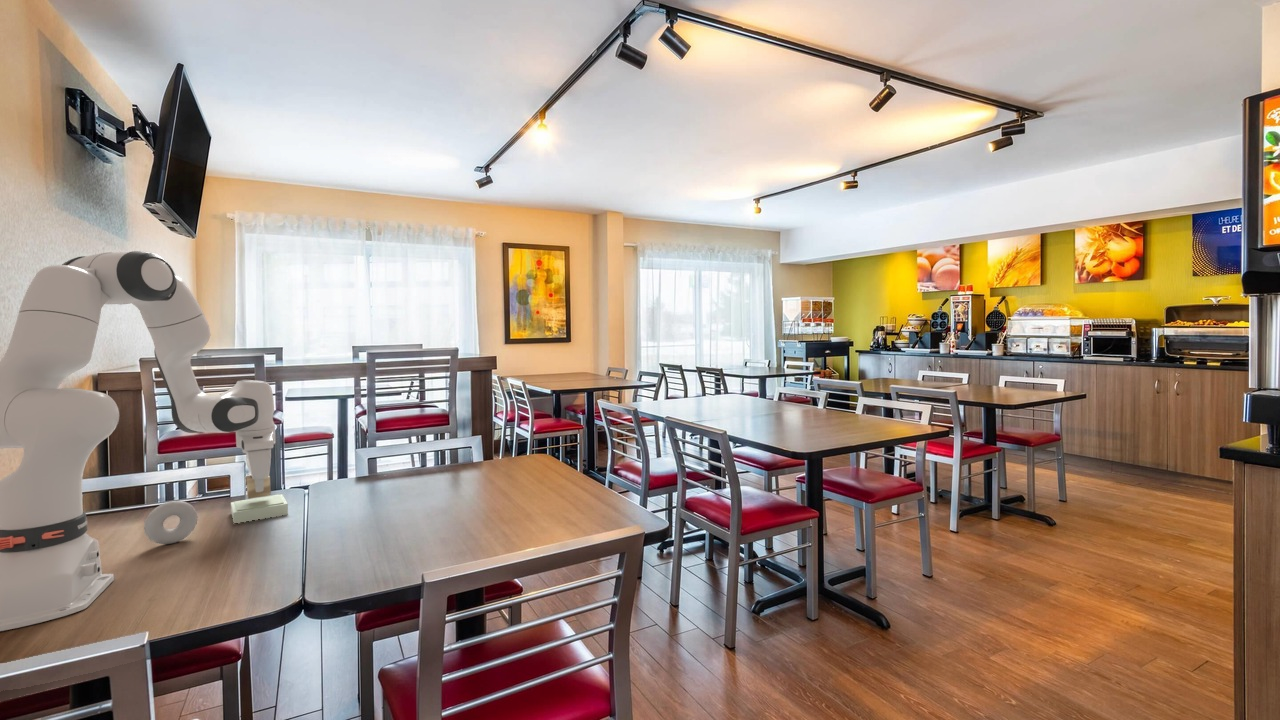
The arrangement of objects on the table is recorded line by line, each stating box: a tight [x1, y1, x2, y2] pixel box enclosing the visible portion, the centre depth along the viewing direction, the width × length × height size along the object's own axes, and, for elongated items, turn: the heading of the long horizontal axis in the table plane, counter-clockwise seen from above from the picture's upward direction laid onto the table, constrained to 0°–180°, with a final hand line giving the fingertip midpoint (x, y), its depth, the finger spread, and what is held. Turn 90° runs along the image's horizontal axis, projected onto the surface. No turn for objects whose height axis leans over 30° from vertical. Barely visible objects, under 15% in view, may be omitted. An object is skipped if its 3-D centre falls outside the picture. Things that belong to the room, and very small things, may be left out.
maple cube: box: [246, 475, 272, 499], centre depth 153 cm, size 5×5×5 cm
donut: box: [143, 500, 199, 545], centre depth 132 cm, size 10×4×10 cm, turn 147°
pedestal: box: [230, 493, 289, 524], centre depth 153 cm, size 12×12×3 cm
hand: (258, 488), depth 153 cm, fingers closed on maple cube, 5 cm apart
